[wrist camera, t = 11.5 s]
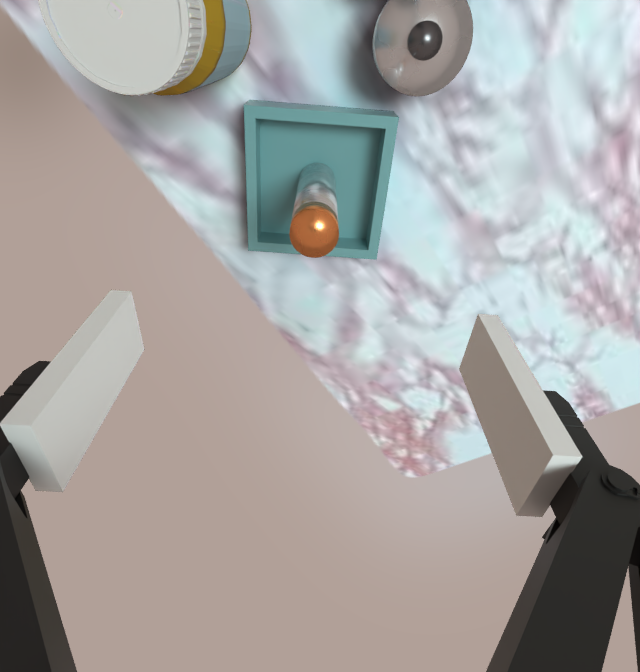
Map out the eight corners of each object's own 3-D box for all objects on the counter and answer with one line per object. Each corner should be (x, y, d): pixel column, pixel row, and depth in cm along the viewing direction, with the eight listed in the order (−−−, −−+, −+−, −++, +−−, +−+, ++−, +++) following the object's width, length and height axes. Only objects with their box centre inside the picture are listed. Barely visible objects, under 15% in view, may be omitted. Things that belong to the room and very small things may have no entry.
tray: (250, 99, 32) (243, 104, 30) (393, 111, 33) (398, 117, 30) (253, 237, 39) (248, 250, 36) (373, 245, 39) (376, 259, 36)
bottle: (269, 56, 31) (230, 68, 18) (186, 96, 32) (98, 131, 20) (222, -67, 27) (135, -154, 15) (131, -15, 28) (-19, -56, 16)
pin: (300, 161, 34) (289, 208, 25) (336, 164, 34) (341, 211, 25) (298, 198, 36) (288, 255, 26) (333, 200, 36) (336, 259, 26)
